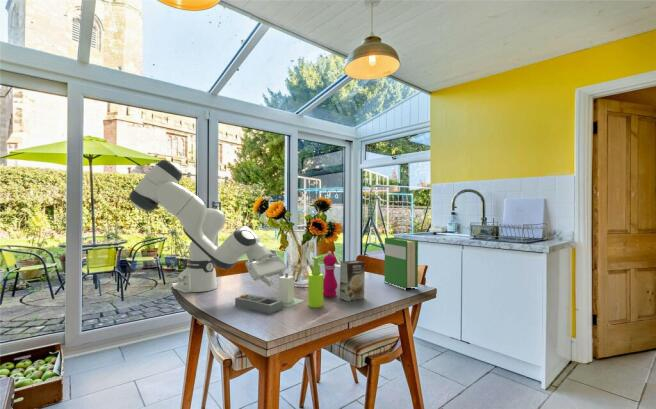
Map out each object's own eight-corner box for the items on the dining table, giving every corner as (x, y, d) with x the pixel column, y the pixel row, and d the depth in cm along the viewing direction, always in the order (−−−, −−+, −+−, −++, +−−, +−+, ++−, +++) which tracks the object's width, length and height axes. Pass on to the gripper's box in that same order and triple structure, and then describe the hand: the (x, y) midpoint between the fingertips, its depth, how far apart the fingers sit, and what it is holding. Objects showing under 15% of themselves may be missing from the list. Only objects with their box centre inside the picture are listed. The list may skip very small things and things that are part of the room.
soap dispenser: (328, 307, 128) (328, 256, 129) (315, 310, 123) (315, 258, 124) (317, 303, 132) (318, 255, 133) (305, 307, 128) (305, 257, 128)
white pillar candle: (278, 302, 131) (278, 273, 131) (284, 299, 135) (284, 271, 135) (288, 303, 129) (288, 274, 129) (293, 300, 133) (294, 272, 133)
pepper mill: (335, 297, 142) (336, 252, 142) (319, 296, 143) (320, 251, 143) (338, 293, 149) (338, 250, 149) (323, 292, 150) (323, 249, 150)
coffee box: (348, 301, 136) (348, 263, 136) (339, 298, 141) (339, 261, 141) (364, 298, 141) (365, 261, 141) (355, 295, 146) (356, 259, 146)
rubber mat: (267, 305, 130) (267, 302, 130) (284, 298, 140) (284, 296, 140) (288, 309, 125) (288, 307, 125) (305, 302, 134) (305, 300, 134)
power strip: (235, 308, 126) (235, 296, 126) (248, 303, 132) (248, 292, 132) (270, 316, 116) (270, 303, 116) (282, 311, 122) (282, 299, 122)
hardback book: (417, 289, 158) (417, 240, 158) (405, 290, 155) (405, 240, 155) (396, 281, 174) (396, 237, 174) (384, 283, 171) (384, 237, 171)
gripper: (247, 256, 130) (266, 283, 125) (278, 250, 148) (296, 273, 143) (239, 266, 132) (257, 293, 127) (270, 259, 150) (287, 282, 145)
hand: (278, 283), depth 135 cm, fingers open, 8 cm apart
